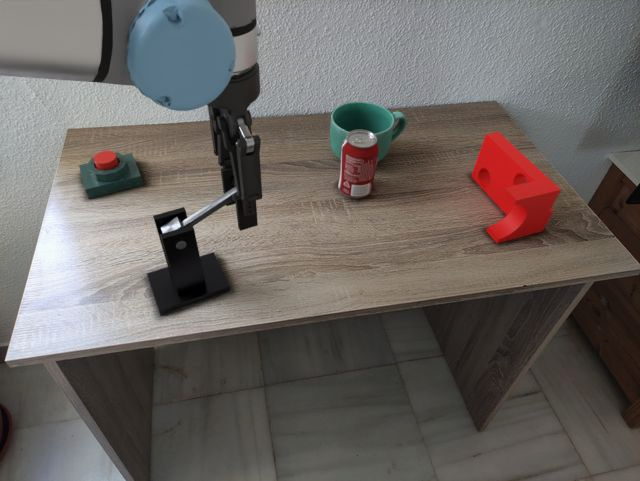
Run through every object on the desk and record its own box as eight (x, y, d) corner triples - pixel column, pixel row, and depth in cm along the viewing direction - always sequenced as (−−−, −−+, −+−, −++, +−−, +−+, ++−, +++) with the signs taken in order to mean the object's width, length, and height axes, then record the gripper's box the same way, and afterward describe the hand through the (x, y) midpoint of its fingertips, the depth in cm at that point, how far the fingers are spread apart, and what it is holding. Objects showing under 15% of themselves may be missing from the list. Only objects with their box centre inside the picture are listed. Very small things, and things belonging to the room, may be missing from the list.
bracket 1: (214, 256, 79) (203, 194, 69) (230, 291, 74) (221, 229, 64) (148, 278, 75) (126, 215, 65) (160, 315, 70) (138, 254, 60)
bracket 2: (566, 188, 79) (516, 200, 76) (542, 231, 87) (496, 243, 84) (502, 130, 91) (457, 139, 88) (486, 173, 98) (444, 182, 95)
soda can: (373, 201, 90) (382, 150, 81) (338, 200, 90) (343, 148, 81) (371, 179, 95) (379, 128, 86) (337, 177, 95) (342, 126, 86)
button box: (88, 198, 87) (81, 181, 84) (82, 174, 92) (75, 157, 89) (143, 184, 91) (138, 168, 88) (134, 161, 95) (129, 145, 92)
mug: (339, 178, 94) (343, 139, 88) (320, 143, 103) (323, 104, 96) (413, 166, 98) (423, 127, 92) (390, 133, 107) (397, 95, 100)
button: (98, 173, 87) (95, 165, 85) (94, 161, 89) (91, 153, 88) (120, 167, 88) (118, 160, 87) (116, 156, 91) (113, 148, 89)
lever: (243, 180, 68) (235, 170, 67) (255, 201, 65) (248, 191, 64) (167, 230, 68) (157, 221, 66) (176, 253, 65) (166, 244, 63)
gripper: (289, 93, 48) (289, 247, 65) (230, 26, 59) (243, 173, 76) (219, 108, 46) (238, 264, 63) (170, 35, 57) (198, 184, 73)
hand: (241, 213), depth 69 cm, fingers closed on lever, 5 cm apart
